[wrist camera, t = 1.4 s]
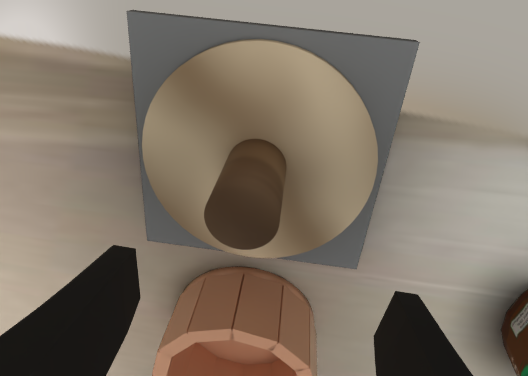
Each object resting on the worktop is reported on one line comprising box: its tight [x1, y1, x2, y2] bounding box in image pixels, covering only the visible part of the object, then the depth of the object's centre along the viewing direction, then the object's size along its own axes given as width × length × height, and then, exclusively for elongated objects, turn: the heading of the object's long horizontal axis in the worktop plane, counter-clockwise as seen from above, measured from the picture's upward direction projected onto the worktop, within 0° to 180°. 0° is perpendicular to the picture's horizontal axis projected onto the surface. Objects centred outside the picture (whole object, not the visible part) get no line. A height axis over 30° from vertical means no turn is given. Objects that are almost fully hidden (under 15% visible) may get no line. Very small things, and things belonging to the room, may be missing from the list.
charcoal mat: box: [127, 10, 419, 269], centre depth 18 cm, size 12×12×1 cm
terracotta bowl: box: [152, 267, 317, 376], centre depth 23 cm, size 9×9×5 cm
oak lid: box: [142, 39, 378, 258], centre depth 16 cm, size 11×11×5 cm
